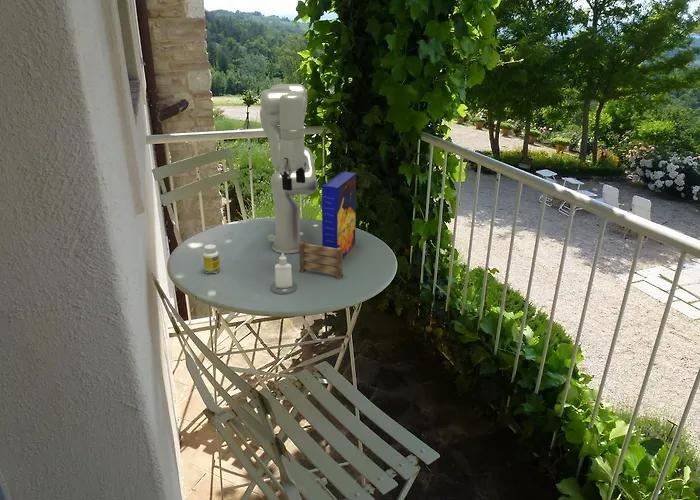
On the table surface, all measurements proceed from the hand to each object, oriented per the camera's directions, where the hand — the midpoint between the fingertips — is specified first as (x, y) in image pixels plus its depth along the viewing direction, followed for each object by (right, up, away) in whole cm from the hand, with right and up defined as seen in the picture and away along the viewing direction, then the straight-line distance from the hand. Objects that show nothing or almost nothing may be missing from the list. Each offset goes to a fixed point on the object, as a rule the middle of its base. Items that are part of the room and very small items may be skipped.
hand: (294, 186), depth 167 cm
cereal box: (+15, -23, +30) cm, 40 cm away
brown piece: (+8, -30, +13) cm, 33 cm away
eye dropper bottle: (-4, -34, +2) cm, 34 cm away
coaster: (-4, -34, +2) cm, 34 cm away
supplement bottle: (-31, -29, +14) cm, 45 cm away
